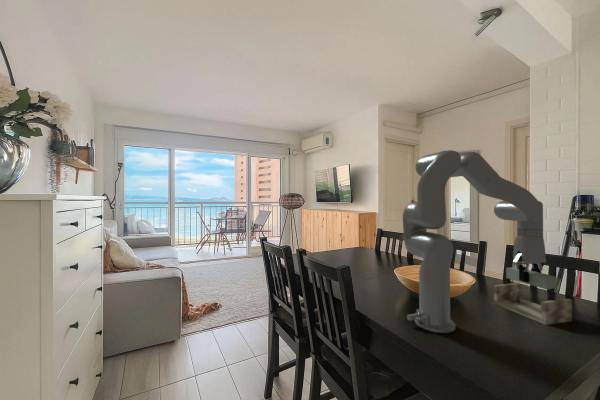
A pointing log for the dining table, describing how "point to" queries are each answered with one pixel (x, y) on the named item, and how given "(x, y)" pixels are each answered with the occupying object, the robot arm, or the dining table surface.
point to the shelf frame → (532, 305)
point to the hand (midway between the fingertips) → (530, 280)
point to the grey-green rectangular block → (533, 278)
